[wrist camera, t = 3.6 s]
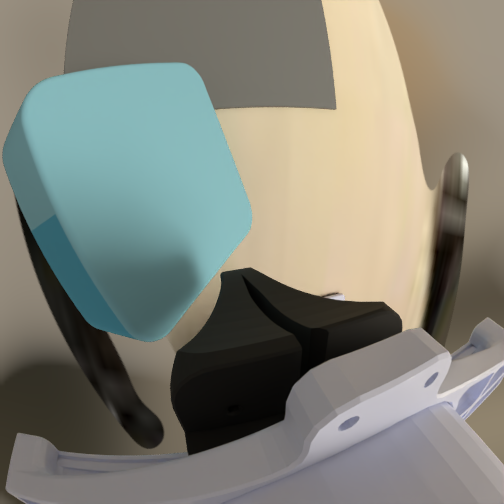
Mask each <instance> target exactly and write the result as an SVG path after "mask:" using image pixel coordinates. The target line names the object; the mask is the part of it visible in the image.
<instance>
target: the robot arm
mask: <svg viewBox="0 0 504 504" xmlns="http://www.w3.org/2000/svg"><path fill="white" fill-rule="evenodd" d="M220 276H221V289H220V294H219V297H218V300H217V303H216V305H215V308H214V310H213V312H212V314H211V316H210V318H209V319H208V321H207V322H206V324H205V325H204V327H203V328H202V329H201V331H200V332H199V333H198V334H197V335H196V336H195V337H194V338H193V339H192V340H191V341H190V342H188V343H187V344H186V345H185V346H183V347H182V348H181V349H179V350H178V351H177V353H176V356H175V360H174V364H173V369H172V375H171V383H170V386H171V387H170V389H171V402H172V405H173V409H174V411H175V414H176V416H177V418H178V420H179V422H180V424H181V426H182V428H183V430H184V432H185V437H186V444H187V451H188V452H183V453H173V454H160V455H139V456H137V455H136V456H115V455H93V454H80V453H69V452H62V451H58V450H57V449H56V448H55V446H54V445H53V444H51V443H50V442H49V441H48V440H46V439H44V438H42V437H38V436H32V435H27V434H22V433H18V434H17V437H16V441H15V445H14V449H13V453H12V457H11V462H10V467H9V472H8V477H7V483H6V490H7V492H9V493H10V494H12V495H13V496H15V497H16V498H18V499H19V500H21V501H23V502H24V503H26V504H504V465H503V464H502V462H501V461H500V460H499V459H498V458H497V457H496V456H495V454H494V453H493V452H492V451H491V450H490V449H489V447H488V446H487V445H486V444H485V443H484V442H483V441H482V440H481V438H480V437H479V436H478V435H477V434H476V433H475V432H474V431H473V430H472V428H471V427H470V426H469V425H468V424H467V423H466V422H465V419H467V417H469V416H470V414H472V413H473V411H475V410H476V409H477V407H478V406H479V405H480V404H481V403H482V402H483V401H484V400H485V399H486V398H487V397H488V396H489V395H490V394H491V392H492V391H493V390H494V389H495V388H496V387H497V386H498V385H499V383H500V382H501V380H502V379H503V377H504V329H503V328H502V327H501V326H499V325H497V324H496V323H495V322H494V321H493V320H491V319H490V318H486V319H485V320H483V321H482V322H481V323H479V324H478V325H477V326H476V327H475V328H474V330H473V332H472V334H471V337H470V339H469V342H468V343H466V344H465V345H464V346H462V347H461V348H460V349H458V350H457V351H455V352H454V353H452V354H451V355H450V353H449V352H448V351H447V350H446V349H445V348H444V347H443V346H442V345H440V344H439V343H438V342H437V341H436V340H435V339H434V338H432V337H431V336H430V335H429V334H428V333H427V332H425V331H424V330H423V329H422V328H415V329H409V330H405V331H403V332H402V320H401V318H400V316H399V315H398V314H397V313H396V312H395V311H394V310H392V309H391V308H390V307H389V306H388V305H386V304H385V303H384V302H354V301H345V296H344V295H343V294H342V293H339V294H335V295H331V296H327V297H320V296H316V295H312V294H308V293H305V292H302V291H299V290H296V289H294V288H291V287H289V286H286V285H284V284H282V283H280V282H278V281H276V280H274V279H272V278H270V277H268V276H266V275H264V274H262V273H260V272H259V271H257V270H255V269H253V268H244V269H238V270H232V271H226V272H222V274H221V275H220Z"/></svg>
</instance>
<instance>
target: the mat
mask: <svg viewBox="0 0 504 504" xmlns="http://www.w3.org/2000/svg"><path fill="white" fill-rule="evenodd" d="M170 62H180V63H185V64H188V65H190V66H191V67H192V68H194V69H195V70H196V71H197V73H198V74H199V75H200V77H201V78H202V80H203V82H204V85H205V87H206V90H207V92H208V95H209V98H210V100H211V103H212V105H213V108H214V109H226V108H246V107H300V108H320V109H334V110H335V109H336V99H335V88H334V78H333V70H332V62H331V54H330V47H329V40H328V34H327V28H326V22H325V17H324V11H323V6H322V1H321V0H73V5H72V10H71V15H70V21H69V27H68V34H67V43H66V53H65V65H64V74H67V73H72V72H77V71H83V70H89V69H95V68H102V67H110V66H118V65H129V64H142V63H170Z"/></svg>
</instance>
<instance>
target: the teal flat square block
mask: <svg viewBox="0 0 504 504" xmlns="http://www.w3.org/2000/svg"><path fill="white" fill-rule="evenodd" d="M3 164H4V167H5V170H6V173H7V176H8V178H9V181H10V184H11V186H12V189H13V192H14V194H15V196H16V199H17V201H18V204H19V206H20V208H21V210H22V213H23V215H24V217H25V219H26V221H27V223H28V226H29V228H30V230H31V232H32V234H33V236H34V238H35V240H36V241H37V243H38V245H39V247H40V249H41V251H42V253H43V254H44V256H45V258H46V260H47V261H48V263H49V265H50V267H51V268H52V270H53V272H54V273H55V275H56V277H57V278H58V280H59V281H60V283H61V285H62V286H63V288H64V289H65V291H66V292H67V294H68V295H69V297H70V298H71V300H72V301H73V303H74V304H75V306H76V307H77V308H78V310H79V311H80V313H81V314H82V315H83V317H84V318H85V319H86V321H87V322H88V323H89V324H90V325H92V326H93V327H95V328H97V329H101V330H104V331H107V332H111V333H114V334H118V335H122V336H125V337H129V338H133V339H137V340H140V341H144V342H154V341H157V340H160V339H162V338H163V337H165V336H166V335H167V334H168V333H169V332H170V331H171V330H172V329H173V327H174V326H175V325H176V324H177V322H178V321H179V320H180V318H181V317H182V316H183V315H184V313H185V312H186V311H187V309H188V308H189V307H190V306H191V304H192V303H193V302H194V301H195V299H196V298H197V297H198V295H199V294H200V293H201V292H202V290H203V289H204V288H205V287H206V285H207V284H208V283H209V281H210V280H211V279H212V278H213V276H214V275H215V274H216V273H217V271H218V270H219V269H220V268H221V266H222V265H223V264H224V263H225V261H226V260H227V259H228V258H229V256H230V255H231V254H232V253H233V251H234V250H235V249H236V247H237V246H238V245H239V244H240V243H241V241H242V240H243V239H244V238H245V236H246V235H247V234H248V232H249V230H250V228H251V224H252V211H251V206H250V202H249V200H248V197H247V194H246V192H245V189H244V186H243V184H242V181H241V178H240V176H239V173H238V170H237V168H236V165H235V162H234V160H233V157H232V155H231V152H230V149H229V147H228V144H227V141H226V139H225V136H224V134H223V131H222V128H221V126H220V123H219V121H218V118H217V116H216V113H215V110H214V108H213V105H212V103H211V100H210V98H209V95H208V92H207V90H206V87H205V85H204V82H203V80H202V78H201V77H200V75H199V74H198V73H197V71H196V70H195V69H194V68H192V67H191V66H190V65H188V64H185V63H180V62H170V63H142V64H129V65H118V66H110V67H102V68H95V69H89V70H83V71H77V72H72V73H67V74H63V75H58V76H54V77H50V78H47V79H45V80H42V81H41V82H39V83H38V84H36V85H35V86H34V87H33V88H32V89H31V90H30V91H29V92H28V94H27V95H26V97H25V99H24V101H23V103H22V105H21V107H20V109H19V111H18V113H17V115H16V118H15V120H14V122H13V124H12V126H11V129H10V131H9V134H8V136H7V138H6V141H5V144H4V147H3Z"/></svg>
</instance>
